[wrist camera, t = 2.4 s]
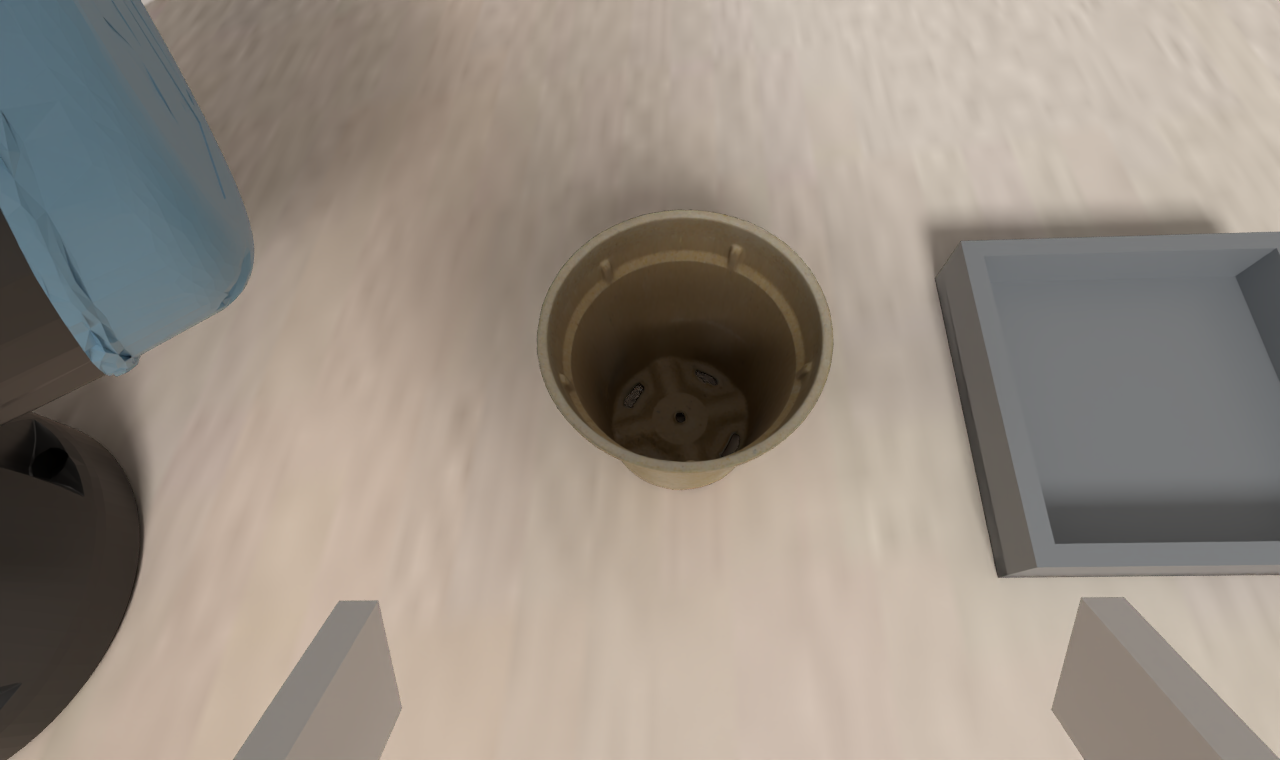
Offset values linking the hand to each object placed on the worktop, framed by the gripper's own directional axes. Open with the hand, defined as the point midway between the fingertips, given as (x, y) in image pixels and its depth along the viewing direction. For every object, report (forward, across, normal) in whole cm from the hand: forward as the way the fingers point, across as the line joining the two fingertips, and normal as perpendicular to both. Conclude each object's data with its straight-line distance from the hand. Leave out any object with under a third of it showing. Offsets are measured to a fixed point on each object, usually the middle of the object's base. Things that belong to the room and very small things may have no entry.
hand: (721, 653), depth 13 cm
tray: (+16, +19, -3) cm, 25 cm away
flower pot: (+17, 0, -3) cm, 17 cm away
